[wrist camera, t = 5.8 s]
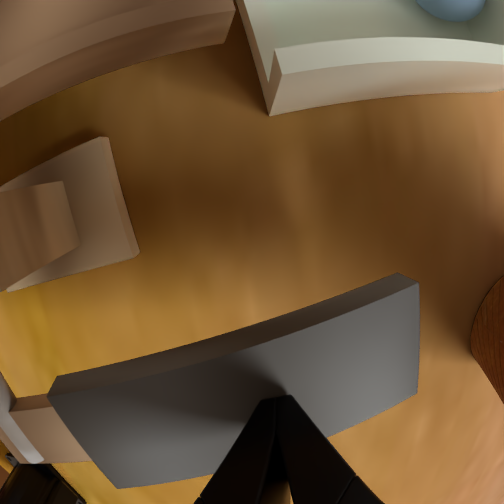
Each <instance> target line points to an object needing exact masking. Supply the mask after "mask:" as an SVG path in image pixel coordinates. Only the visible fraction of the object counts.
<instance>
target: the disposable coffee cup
mask: <svg viewBox="0 0 504 504" xmlns="http://www.w3.org/2000/svg"><path fill="white" fill-rule="evenodd" d="M471 350H472V354H473V356H474V358H475V360H476V361H477V362H478V364H479V365H480V367H481V368H482V370H483V371H484V373H485V374H486V376H487V377H488V379H489V381H490V382H491V384H492V385H493V387H494V389H495V390H496V392H497V394H498V395H499V397H500V399H501V400H502V402H503V404H504V276H503V277H502V278H501V279H500V280H499V281H498V282H497V283H496V284H495V285H494V286H493V288H492V289H491V290H490V291H489V293H488V294H487V296H486V297H485V299H484V301H483V303H482V304H481V306H480V308H479V310H478V313H477V315H476V317H475V321H474V324H473V328H472V332H471Z"/></svg>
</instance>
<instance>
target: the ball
mask: <svg viewBox="0 0 504 504" xmlns="http://www.w3.org/2000/svg"><path fill="white" fill-rule="evenodd" d="M415 1H416V2H417V3H418V4H419V5H420V6H421V7H422V8H423V9H424V10H426V11H427V12H428V13H430V14H431V15H433V16H435V17H437V18H440V19H443V20H446V21H451V22H463V21H467V20H470V19H472V18H474V17H475V16H477V15H478V14H479V13H480V12H481V10H482V9H483V7H484V4H485V0H415Z"/></svg>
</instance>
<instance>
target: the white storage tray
mask: <svg viewBox="0 0 504 504" xmlns="http://www.w3.org/2000/svg"><path fill="white" fill-rule="evenodd" d="M236 3H237V6H238V9H239V13H240V16H241V19H242V22H243V26H244V29H245V32H246V36H247V39H248V42H249V46H250V49H251V53H252V56H253V59H254V63H255V66H256V70H257V74H258V77H259V81H260V84H261V88H262V92H263V95H264V99H265V103H266V107H267V110H268V114H269V116H274V115H278V114H283V113H288V112H293V111H298V110H304V109H309V108H315V107H320V106H326V105H333V104H339V103H346V102H353V101H360V100H368V99H376V98H386V97H396V96H407V95H420V94H437V93H469V92H488V93H492V92H497V91H503V90H504V0H485V4H484V7H483V9H482V10H481V12H480V13H479V14H478V15H477V16H475V17H474V18H472V19H470V20H467V21H463V22H451V21H446V20H443V19H440V18H437V17H435V16H433V15H431V14H430V13H428V12H427V11H426V10H424V9H423V8H422V7H421V6H420V5H419V4H418V3H417V2H416V1H415V0H236Z"/></svg>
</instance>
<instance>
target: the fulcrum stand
mask: <svg viewBox="0 0 504 504" xmlns="http://www.w3.org/2000/svg"><path fill="white" fill-rule="evenodd" d="M139 253H140V250H139V247H138V244H137V241H136V238H135V235H134V231H133V228H132V225H131V222H130V218H129V215H128V211H127V208H126V204H125V201H124V197H123V194H122V190H121V186H120V183H119V179H118V175H117V171H116V167H115V163H114V159H113V155H112V151H111V147H110V142H109V138H108V137H101V136H99V137H97V138H95V139H92V140H90V141H88V142H86V143H83V144H81V145H79V146H77V147H75V148H72V149H70V150H68V151H66V152H64V153H62V154H60V155H58V156H56V157H54V158H52V159H50V160H48V161H46V162H44V163H42V164H40V165H38V166H36V167H34V168H32V169H30V170H28V171H27V172H25V173H23V174H21V175H19V176H18V177H16V178H14V179H12V180H11V181H9V182H7V183H5V184H4V185H2V186H0V292H2V291H3V290H5V289H7V292H12V291H15V290H19V289H22V288H26V287H29V286H33V285H36V284H40V283H43V282H47V281H51V280H54V279H58V278H61V277H65V276H69V275H72V274H76V273H80V272H83V271H87V270H91V269H94V268H98V267H102V266H106V265H109V264H113V263H117V262H121V261H124V260H128V259H132V258H134V257H135V256H137V255H138V254H139Z"/></svg>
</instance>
